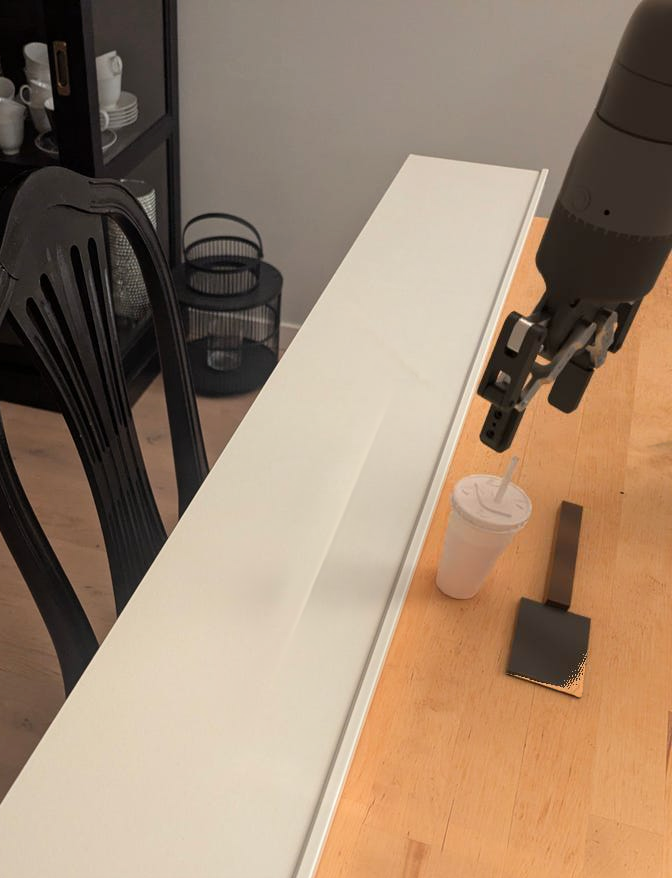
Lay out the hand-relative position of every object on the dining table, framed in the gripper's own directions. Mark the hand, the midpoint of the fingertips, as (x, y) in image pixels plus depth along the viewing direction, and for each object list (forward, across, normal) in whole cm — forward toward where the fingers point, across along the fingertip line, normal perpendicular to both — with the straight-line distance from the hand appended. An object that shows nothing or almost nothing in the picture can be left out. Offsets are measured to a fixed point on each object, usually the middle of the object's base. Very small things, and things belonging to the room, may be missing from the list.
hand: (527, 426), depth 67 cm
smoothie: (+17, 0, 0) cm, 17 cm away
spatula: (+17, +7, -6) cm, 19 cm away
